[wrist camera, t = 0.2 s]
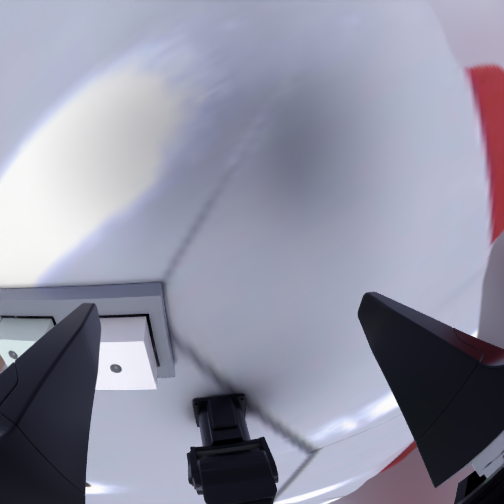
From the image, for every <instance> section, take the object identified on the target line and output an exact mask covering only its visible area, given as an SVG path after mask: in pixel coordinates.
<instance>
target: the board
mask: <svg viewBox="0 0 504 504" xmlns="http://www.w3.org/2000/svg"><path fill="white" fill-rule="evenodd" d="M84 302H87V303H95V304H96V306H97V309H98V314H99V315H125V314H147V313H149V317H150V322H151V327H152V332H153V336H154V341H155V346H156V350H157V352H155V353H154V355H155V359H156V363H157V378H167V377H175V369H174V359H173V354H172V348H171V343H170V337H169V331H168V325H167V318H166V312H165V305H164V298H163V291H162V283H161V282H153V283H136V284H117V285H96V286H73V287H46V288H11V289H0V322H1V321H2V319H3V318H14V317H13V316H53V317H54V319H55V322H56V324H57V323H59V322H60V321H61V320H62V319H63V318H65V317H66V316H67V315H68V314H70V313H71V312H72V311H73V310H74V309H76V308H77V307H78V306H79V305H81V304H82V303H84ZM6 368H7V365H6V363H5V364H4V367H3V369H2V372H3V371H4V370H5V369H6Z"/></svg>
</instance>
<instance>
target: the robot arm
mask: <svg viewBox="0 0 504 504" xmlns="http://www.w3.org/2000/svg"><path fill="white" fill-rule="evenodd" d="M358 318H359V320H360V323H361V325H362V328H363V330H364V333H365V335H366V338H367V340H368V343H369V345H370V348H371V350H372V352H373V354H374V356H375V358H376V360H377V362H378V364H379V366H380V368H381V370H382V372H383V374H384V376H385V378H386V380H387V382H388V384H389V386H390V388H391V390H392V393H393V395H394V397H395V399H396V401H397V403H398V405H399V407H400V409H401V411H402V414H403V416H404V418H405V420H406V422H407V424H408V427H409V429H410V431H411V433H412V435H413V438H414V440H415V442H416V445H417V447H418V449H419V452H420V454H421V456H422V459H423V461H424V463H425V466H426V468H427V471H428V473H429V475H430V478H431V480H432V483H433V485H434V487H435V488H437V487H438V486H440V485H441V484H443V483H444V482H446V481H447V480H449V479H450V478H451V477H453V476H454V475H456V474H457V473H458V472H460V471H461V470H462V469H464V468H465V467H466V466H468V465H469V464H470V463H471V464H472V466H473V468H474V469H475V471H474V472H473V473H471V474H470V475H469V476H467V477H466V478H465V479H464V480H462V481H461V482H460V483H458V488H457V493H456V498H455V503H454V504H504V349H502V348H500V347H497V346H495V345H492V344H490V343H487V342H485V341H482V340H480V339H477V338H475V337H473V336H470V335H468V334H466V333H464V332H461V331H459V330H457V329H455V328H452V327H451V326H448V325H446V324H444V323H442V322H440V321H438V320H436V319H433V318H431V317H429V316H427V315H425V314H423V313H420V312H418V311H416V310H414V309H412V308H410V307H407V306H405V305H403V304H401V303H399V302H396V301H394V300H392V299H390V298H388V297H385V296H383V295H381V294H379V293H377V292H367V293H365V294H364V295H363V298H362V301H361V304H360V307H359V310H358ZM100 339H101V322H100V318H99V314H98V309H97V306H96V304H95V303H87V302H84V303H82V304H81V305H79V306H78V307H77V308H76V309H74V310H73V311H72V312H71V313H70V314H68V315H67V316H66V317H65V318H63V319H62V320H61V321H60V322H59V323H57V324H56V325H55V326H54V327H53V328H52V329H50V330H49V331H48V332H47V333H46V334H45V335H43V336H42V337H41V338H40V339H39V340H38V341H36V342H35V343H34V344H33V345H32V346H31V347H30V348H28V349H27V350H26V351H25V352H24V353H23V354H22V355H21V356H19V357H18V358H17V359H16V360H15V362H13V363H12V364H11V365H9V366H8V367H7V368H6V369H5V370H4V371H3V372H2V373H1V374H0V504H85V485H86V465H87V451H88V440H89V431H90V422H91V414H92V407H93V400H94V394H95V387H96V382H97V375H98V365H99V351H100ZM193 408H194V413H195V418H196V423H197V427H200V432H201V438H202V444H203V447H190V449H191V451H190V452H189V453H187V459H188V480H189V483H190V484H191V485H192V486H194V488H195V490H197V493H198V495H204V500H205V502H206V504H273V502H274V499H275V495H276V492H277V487H276V484H275V483H278V472H277V468H276V464H275V461H274V459H273V456H272V454H271V452H270V449H269V447H268V445H267V442H266V440H265V438H264V437H260V438H258V439H253V440H251V439H250V436H249V432H248V428H247V425H246V421H245V411H246V396H245V395H244V394H240V395H232V396H224V397H215V398H204V399H195V400H193Z"/></svg>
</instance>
